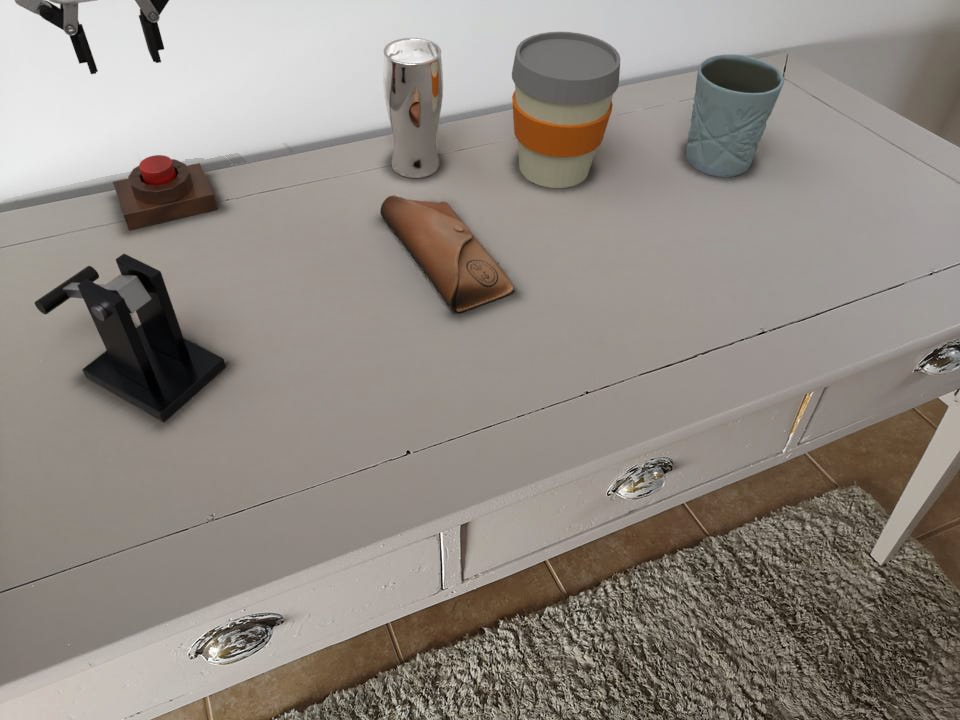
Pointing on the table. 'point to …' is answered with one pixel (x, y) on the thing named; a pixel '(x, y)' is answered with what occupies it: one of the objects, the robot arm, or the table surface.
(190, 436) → the table surface
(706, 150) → the embossed green cup
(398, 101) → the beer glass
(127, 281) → the lever
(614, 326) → the table surface
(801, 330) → the table surface
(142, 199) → the control block
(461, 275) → the sunglasses case
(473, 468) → the table surface
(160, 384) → the bracket
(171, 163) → the button
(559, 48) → the reusable coffee cup
